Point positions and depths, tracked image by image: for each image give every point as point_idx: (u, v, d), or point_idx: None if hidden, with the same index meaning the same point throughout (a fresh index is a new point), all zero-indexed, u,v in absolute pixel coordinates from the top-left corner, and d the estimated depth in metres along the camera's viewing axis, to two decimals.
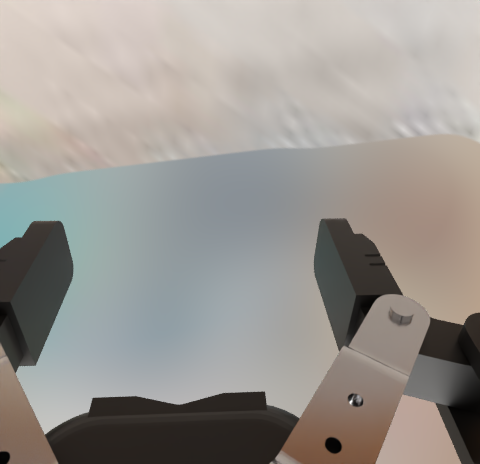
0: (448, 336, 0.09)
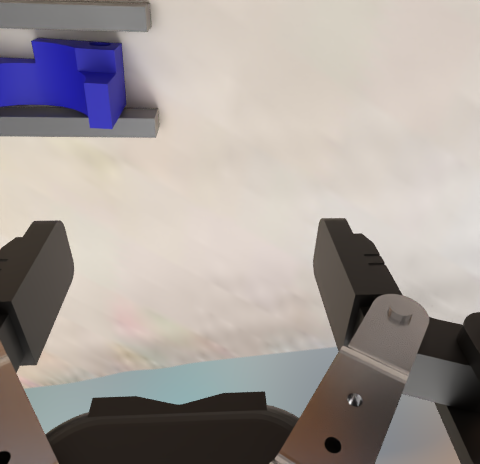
0: (447, 335, 0.09)
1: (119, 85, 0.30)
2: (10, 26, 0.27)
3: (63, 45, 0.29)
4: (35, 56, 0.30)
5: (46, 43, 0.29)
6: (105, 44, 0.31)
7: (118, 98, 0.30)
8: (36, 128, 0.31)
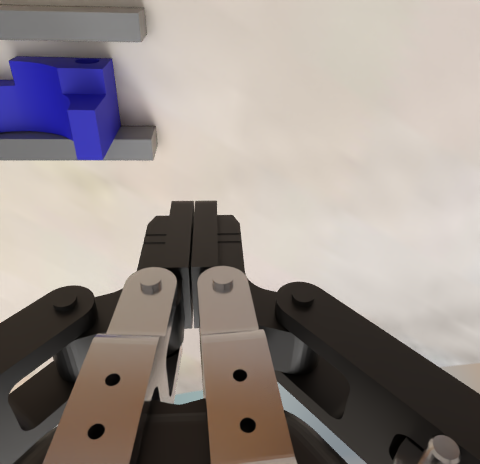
0: (268, 304, 0.10)
1: (110, 107, 0.27)
2: None
3: (44, 64, 0.25)
4: (14, 78, 0.26)
5: (25, 63, 0.25)
6: (93, 60, 0.27)
7: (110, 122, 0.26)
8: (16, 151, 0.27)
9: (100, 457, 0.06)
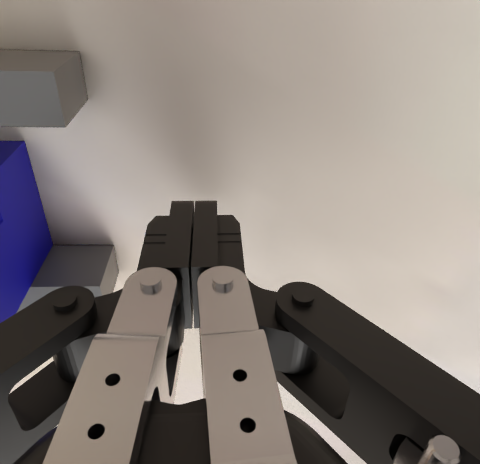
0: (268, 304, 0.10)
1: (20, 234, 0.14)
2: None
3: None
4: None
5: None
6: None
7: (17, 265, 0.14)
8: None
9: (100, 457, 0.06)
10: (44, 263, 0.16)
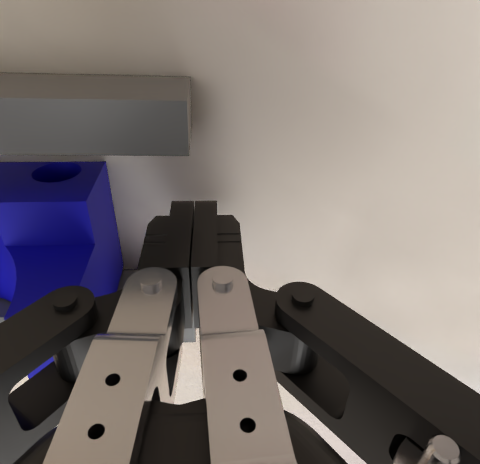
0: (268, 304, 0.10)
1: (105, 257, 0.14)
2: None
3: None
4: None
5: None
6: (71, 165, 0.14)
7: (104, 288, 0.13)
8: None
9: (100, 457, 0.06)
10: None
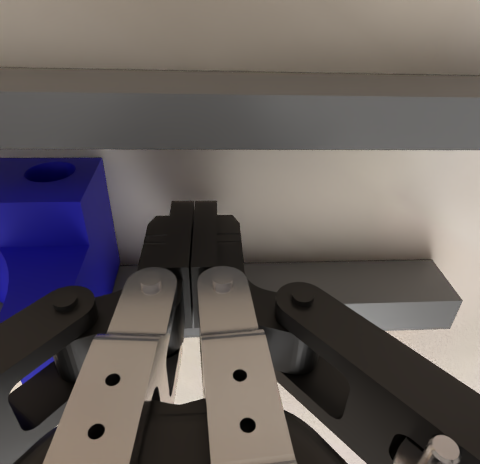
0: (268, 304, 0.10)
1: (100, 258, 0.13)
2: (225, 145, 0.11)
3: None
4: None
5: None
6: (65, 165, 0.14)
7: (99, 290, 0.13)
8: None
9: (100, 457, 0.06)
10: (387, 278, 0.16)
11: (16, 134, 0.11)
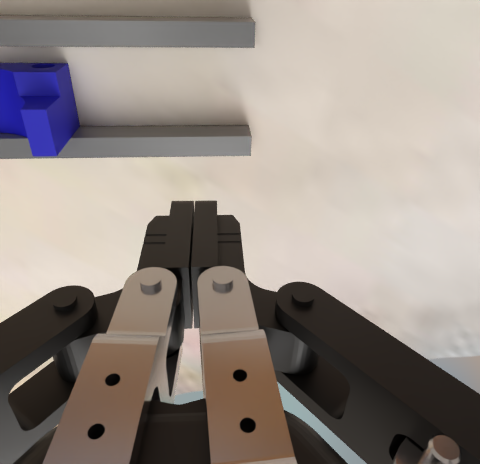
0: (269, 303, 0.10)
1: (66, 108, 0.29)
2: (114, 44, 0.26)
3: (2, 69, 0.27)
4: None
5: None
6: (50, 65, 0.29)
7: (65, 122, 0.28)
8: (128, 148, 0.30)
9: (100, 458, 0.06)
10: (218, 130, 0.31)
11: (24, 39, 0.26)
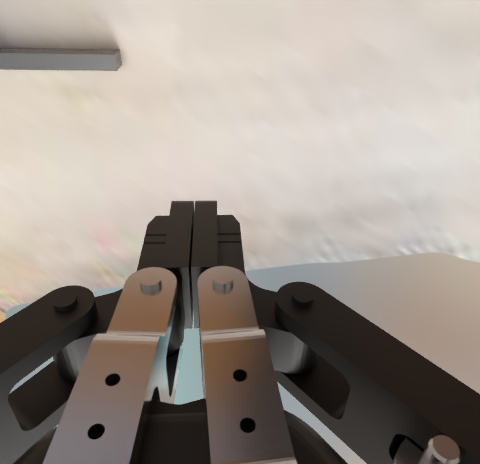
0: (268, 304, 0.10)
1: None
2: None
3: None
4: None
5: None
6: None
7: None
8: (24, 62, 0.41)
9: (100, 458, 0.06)
10: (93, 51, 0.42)
11: None
